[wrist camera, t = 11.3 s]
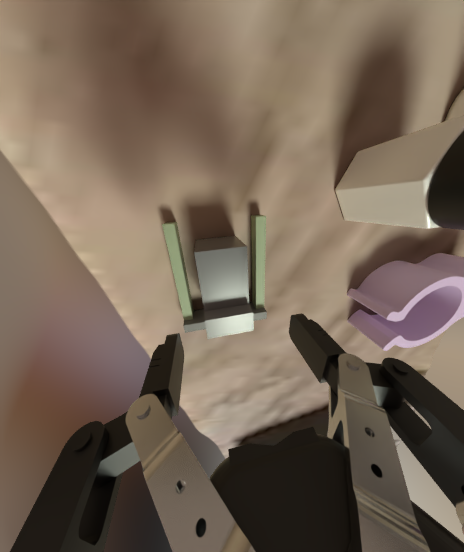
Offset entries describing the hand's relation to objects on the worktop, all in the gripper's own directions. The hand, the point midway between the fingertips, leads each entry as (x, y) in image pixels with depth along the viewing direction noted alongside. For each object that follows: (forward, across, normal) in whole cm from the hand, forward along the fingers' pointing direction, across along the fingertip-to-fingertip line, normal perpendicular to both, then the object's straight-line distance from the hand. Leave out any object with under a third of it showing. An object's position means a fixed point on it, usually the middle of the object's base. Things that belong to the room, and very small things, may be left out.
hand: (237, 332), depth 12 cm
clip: (+12, -32, +8) cm, 35 cm away
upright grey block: (+12, 0, 0) cm, 12 cm away
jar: (+12, -20, -9) cm, 25 cm away
